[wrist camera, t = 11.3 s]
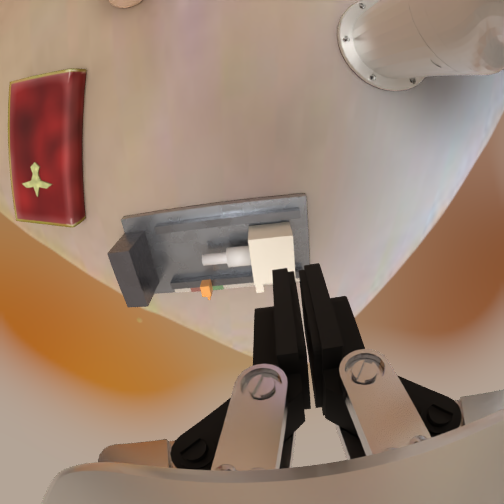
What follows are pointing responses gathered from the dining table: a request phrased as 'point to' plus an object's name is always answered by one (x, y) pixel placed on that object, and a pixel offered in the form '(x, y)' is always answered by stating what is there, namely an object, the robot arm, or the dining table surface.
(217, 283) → the gauge bed
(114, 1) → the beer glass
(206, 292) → the indicator
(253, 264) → the cube with side peg
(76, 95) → the hardcover book
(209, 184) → the dining table surface
